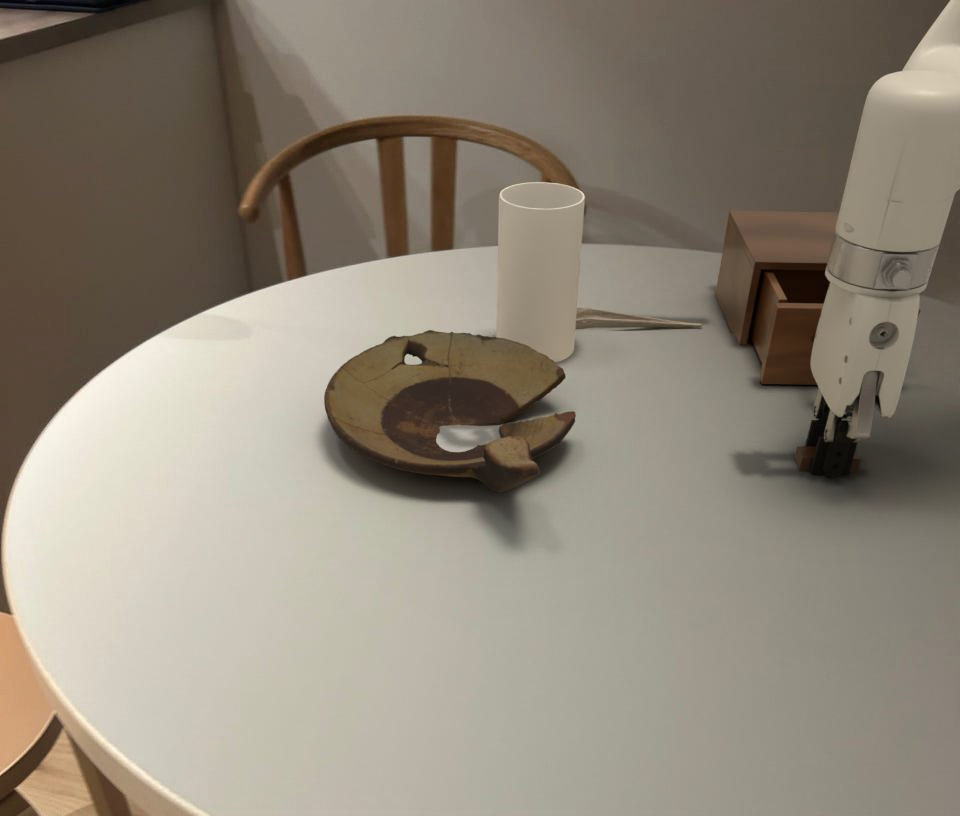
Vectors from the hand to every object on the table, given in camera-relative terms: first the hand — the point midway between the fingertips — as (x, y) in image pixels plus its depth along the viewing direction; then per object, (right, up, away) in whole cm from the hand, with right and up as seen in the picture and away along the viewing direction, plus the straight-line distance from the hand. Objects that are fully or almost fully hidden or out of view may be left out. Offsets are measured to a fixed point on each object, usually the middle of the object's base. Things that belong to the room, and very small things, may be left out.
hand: (824, 468), depth 87 cm
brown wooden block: (-2, 0, 0) cm, 2 cm away
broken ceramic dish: (-33, +2, +2) cm, 33 cm away
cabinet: (+5, +21, +24) cm, 32 cm away
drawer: (+4, +14, +15) cm, 21 cm away
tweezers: (-14, +20, +23) cm, 34 cm away
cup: (-24, +15, +18) cm, 34 cm away
